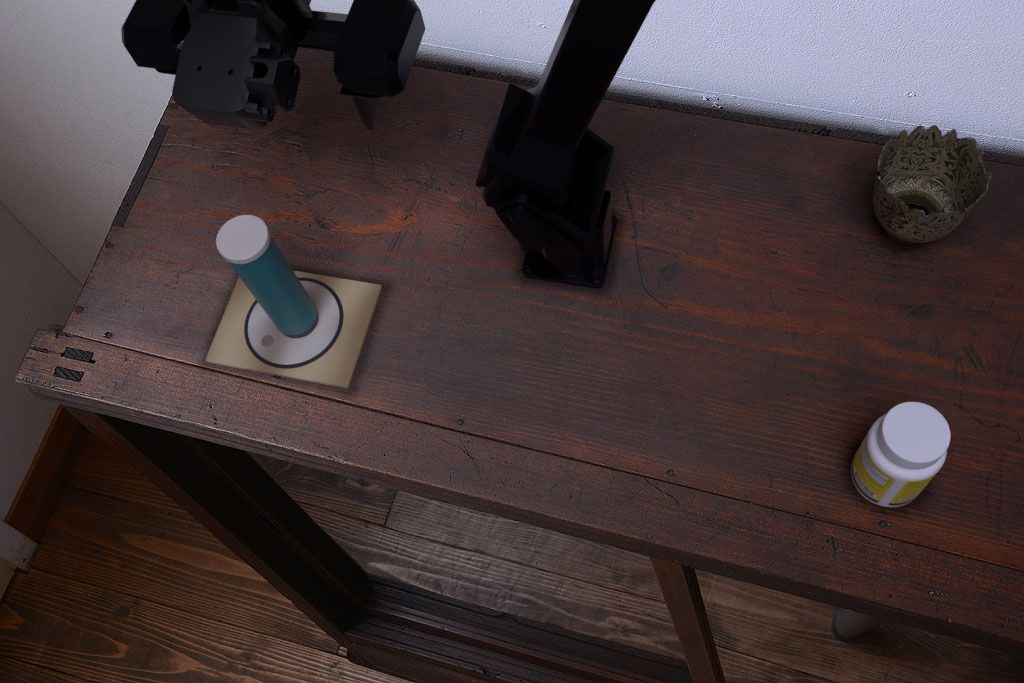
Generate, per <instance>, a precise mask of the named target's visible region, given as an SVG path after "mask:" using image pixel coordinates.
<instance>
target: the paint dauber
mask: <svg viewBox="0 0 1024 683" xmlns="http://www.w3.org/2000/svg"><path fill="white" fill-rule="evenodd" d="M215 244H216V246H215V247H216V249H217V251H218V253H219V255H220V256H221V257H222V258H223V259H224V260H226V262H228V264H229V265H230V266H231V268H232V269H233V270H234V272H235V274H237V276H238V278H239V277H240V278H241V280H242V281H243V283H244V284H245V285H246V287H247V288H248V289H249V291H250V292H251V293H252V295H253V296H254V297H255V299H256V300H257V301H258V303H259V304H260V306H261V307H262V308H263V310H264V311H265V312H266V314H267V315H268V316H269V318H270V319H271V320H272V322H273V323H274V324H275V326H276V327H277V328H278V330H279V331H281V332H282V333H283V334H284V335H285V336H287V337H290V338H302V337H305V336H307V335H308V334H310V333H311V332H312V331H313V330H314V329H315V327H316V326H317V323H318V312H317V309H316V306H315V304H314V303H313V301H312V299H311V298H310V296H309V295H308V293H307V292H306V290H305V288H304V287H303V285H302V284H301V282H300V280H299V279H298V277H297V276H296V274H295V273H294V271H295V270H293V268H292V266H291V264H290V263H289V262H288V260H287V259H286V257H285V255H284V253H283V251H282V250H281V248H280V247H279V246H278V244H277V242H276V241H275V239H274V238H273V236H272V235H271V231H270V229H269V227H268V225H267V223H266V222H265V221H264V220H263V219H261V217H258V216H257V215H252V214H241V215H237V216H235V217H232V218H230V219H229V220H227V221H226V222H225V223H223V225H222V226H221V227H220V228H219V230H218V232H217V235H216V240H215Z"/></svg>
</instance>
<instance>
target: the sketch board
mask: <svg viewBox="0 0 1024 683" xmlns="http://www.w3.org/2000/svg"><path fill="white" fill-rule="evenodd" d="M293 271H294V273H295V274H296V276H297V277H298V279H299V280H300V282H301V284H302V285H303V287H304V288H305V290H306V292H307V293H308V295H309V296H310V298H311V299H312V301H313V303H314V304H315V306H316V309H317V312H318V323H317V326H316V327H315V329H314V330H313V331H312V332H311V333H310V334H308V335H307V336H305V337H302V338H290V337H287V336H285V335H284V334H283V333H282V332H281V331H279V330H278V328H277V327H276V326H275V324H274V323H273V322H272V320H271V319H270V318H269V316H268V315H267V314H266V312H265V311H264V310H263V308H262V307H261V306H260V304H259V303H258V301H257V300H256V299H255V297H254V296H253V295H252V293H251V292H250V291H249V289H248V288H247V287H246V285H245V284H244V283H243V281H242V280H241V278H240V277H239V276H238V278H237V280H236V282H235V285H234V288H233V290H232V292H231V295H230V298H229V300H228V303H227V305H226V307H225V310H224V312H223V314H222V318H221V319H220V322H219V324H218V328H217V330H216V332H215V335H214V338H213V340H212V342H211V344H210V347H209V350H208V352H207V355H206V357H205V360H204V361H205V363H207V364H212V365H217V366H222V367H228V368H234V369H238V370H244V371H250V372H254V373H255V372H256V373H260V374H266V375H272V376H276V377H283V378H287V379H293V380H298V381H303V382H310V383H313V384H314V383H315V384H320V385H326V386H330V387H336V388H341V389H346V390H350V387H351V384H352V381H353V378H354V376H355V372H356V369H357V367H358V366H357V365H358V364H359V360H360V357H361V354H362V351H363V348H364V345H365V342H366V340H367V335H368V334H369V329H370V327H371V324H372V322H373V318H374V315H375V312H376V309H377V306H378V303H379V300H380V297H381V295H382V294H381V293H382V290H383V285H382V284H379V283H372V282H366V281H360V280H354V279H347V278H341V277H335V276H329V275H323V274H317V273H311V272H310V273H309V272H304V271H297V270H293Z"/></svg>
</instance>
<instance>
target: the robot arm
mask: <svg viewBox="0 0 1024 683" xmlns="http://www.w3.org/2000/svg"><path fill="white" fill-rule="evenodd" d="M656 1H657V0H572V2H571V5H570V7H569V9H568V12H567V14H566V17H565V18H564V22H563V24H562V26H561V29H560V31H559V33H558V36H557V38H556V41H555V43H554V45H553V47H552V50H551V53H550V54H549V57H548V59H547V62H546V64H545V66H544V69H543V72H542V74H541V76H540V79H539V80H538V83H537V84H536V85H535V87H533V88H529V89H524V88H521V87H520V86H517V85H515V84H513V83H512V82H508V84H507V88H506V91H505V94H504V97H503V101H502V105H501V107H499V108H498V109H497V112H496V115H495V118H494V121H493V124H492V126H491V127H492V128H491V131H490V134H489V137H488V140H487V144H486V148H485V151H484V154H483V157H482V161H481V164H480V167H479V170H478V174H477V177H476V181H475V184H474V185H475V187H477V188H483V191H482V200H483V203H484V204H485V205H486V207H489V208H492V209H493V210H494V212H495V215H496V217H497V218H498V219H499V220H500V221H501V224H503V225H504V227H505V228H506V229H507V231H509V233H510V234H511V235H512V237H513V238H514V239H515V240H516V241H517V243H518V244H519V248H520V250H521V252H522V253H525V256H524V259H523V263H522V268H521V273H522V275H523V276H524V277H525V278H527V279H528V278H529V279H536V280H542V281H549V282H554V283H561V284H568V285H574V286H580V287H587V288H594V289H600V288H602V287H604V284H605V281H606V276H607V271H608V268H609V263H610V259H611V254H612V251H613V246H614V241H615V237H616V233H617V227H618V224H619V223H618V217H617V216H616V215H614V214H613V211H612V209H613V208H612V192H611V191H610V190H606V186H607V182H608V178H609V173H610V170H611V165H612V161H613V158H614V153H615V147H614V146H613V145H612V144H610V143H609V142H607V141H606V140H605V139H603V138H602V137H600V136H599V135H597V133H595V132H593V131H592V130H591V129H590V128H589V126H590V124H591V122H592V120H593V118H594V116H595V114H596V112H597V111H598V108H599V107H600V105H601V102H602V101H603V99H604V97H605V96H606V94H607V92H608V90H609V88H610V86H611V84H612V82H613V80H614V78H615V76H616V75H617V73H618V71H619V69H620V67H621V66H622V64H623V61H624V60H625V58H626V56H627V54H628V53H629V51H630V48H631V46H632V45H633V44H634V41H635V39H636V37H637V36H638V34H639V32H640V30H641V28H642V26H643V24H644V22H645V21H646V19H647V16H648V15H649V13H650V11H651V9H652V8H653V6H654V4H655V2H656ZM311 2H312V0H135V1H134V3H133V4H132V7H131V8H130V10H129V12H128V15H127V16H126V19H125V20H124V22H123V24H122V25H121V28H120V29H121V30H120V31H121V43H122V44H123V47H124V48H125V50H126V51H127V53H128V54H129V56H130V57H131V58H132V61H133V63H134V64H135V65H136V66H137V67H139V68H145V69H154V70H155V71H156V72H158V73H159V74H164V75H172V76H173V75H174V81H173V85H172V90H171V93H172V94H171V95H172V99H173V101H174V103H175V104H176V105H177V106H179V107H180V108H182V109H183V110H185V112H187V113H189V114H191V115H192V116H194V117H195V118H196V119H198V120H200V121H201V122H203V123H204V124H206V125H210V126H223V127H230V128H238V129H239V128H240V129H244V130H248V131H259V130H261V129H263V128H264V127H266V126H267V125H268V123H272V122H273V121H274V120H275V116H276V114H277V113H280V112H281V113H290V112H292V110H293V109H294V108H295V106H296V105H295V103H296V99H297V94H298V90H299V86H300V80H301V70H300V66H299V64H298V63H297V62H296V61H295V57H296V56H297V54H298V51H299V48H300V49H308V50H309V49H310V50H318V51H327V52H333V73H334V76H335V79H336V81H337V83H338V84H339V85H341V88H340V91H339V95H340V96H346V97H351V98H352V100H353V103H354V106H355V108H356V111H357V113H358V116H359V117H360V120H361V122H362V124H363V126H364V128H365V129H366V130H368V131H373V130H374V127H375V125H376V122H377V118H378V112H379V106H380V100H381V99H383V98H385V97H386V98H387V97H388V98H394V97H395V96H397V95H399V94H401V93H403V92H404V91H405V88H406V85H407V81H408V79H409V76H410V73H411V71H412V69H413V65H414V62H415V59H416V56H417V53H418V51H419V49H420V45H421V42H422V41H423V37H424V34H425V32H426V25H425V22H424V18H423V13H422V10H421V9H420V7H419V6H418V4H417V3H416V1H415V0H353V1H352V2H351V6H350V8H349V11H348V13H340V12H332V11H321V10H312V8H311ZM527 270H530V271H527ZM596 281H599V282H596Z"/></svg>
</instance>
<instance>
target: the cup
mask: <svg viewBox="0 0 1024 683" xmlns="http://www.w3.org/2000/svg"><path fill="white" fill-rule="evenodd" d="M985 155H986V154H985V150H978V141H977V140H976V138H975V137H970V136H969V137H968V136H967V137H961V138H959V137H958V132H957V129H956V128H953V129H950V130H947V132H946V133H945V134H944V135H943V133H942V130H940V128H939V127H938V126H937V125H936V124H934V125H933V124H932V125H930V126H929V128H926V127H925V126H924V125H922V124H920V125H917V126H916V127H915V128H914V129H913V130H912V131H910V133H909V134H908V130H906V129H905V128H904V129H903V130H901V131H900V132H899V134H898V136H897V137H896V139H892V138H890V139H887V140H886V141H885V143H884V144H883V146H882V149H881V151H880V154H879V156H878V158H877V167H876V173H875V177H874V178H875V179H874V185H873V190H872V193H873V194H872V204H873V205H872V206H873V211H874V214H875V217H876V219H877V221H878V223H879V225H880V226H881V227H882V228H883V229H884V231H885V233H886V234H887V236H888V237H889V238H890V240H892V241H893V242H895V243H897V244H899V245H902V246H916V245H921V244H923V243H924V244H925V243H930V242H935V241H937V240H940V239H942V238H944V237H946V236H948V235H949V234H950V233H952V232H953V231H954V230H955V229H956V228H957V227H959V226H960V224H961V223H962V222H963V221H964V220H965V219H966V218H967V217H968V215H969V214H970V213H971V212H972V211H973V209H974V208H975V206H976V205H978V203H979V202H980V201H981V200H982V199H983V198H984V197H985V195H986V194H987V192H988V190H989V188H990V186H989V185H990V182H991V180H992V177H993V176H992V174H993V173H992V172H991V171H989V172H988V171H987V172H986V167H985V166H984V164H983V162H984V157H985Z"/></svg>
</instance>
